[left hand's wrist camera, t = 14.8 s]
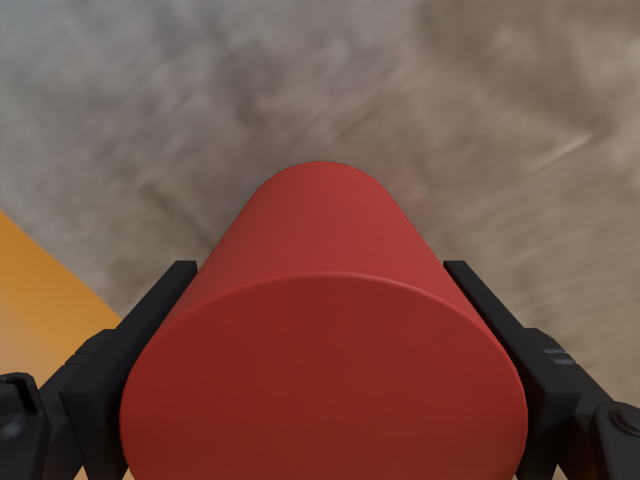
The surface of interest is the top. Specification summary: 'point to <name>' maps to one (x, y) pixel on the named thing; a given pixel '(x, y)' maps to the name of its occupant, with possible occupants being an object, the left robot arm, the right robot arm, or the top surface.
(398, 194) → the top surface
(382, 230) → the can
